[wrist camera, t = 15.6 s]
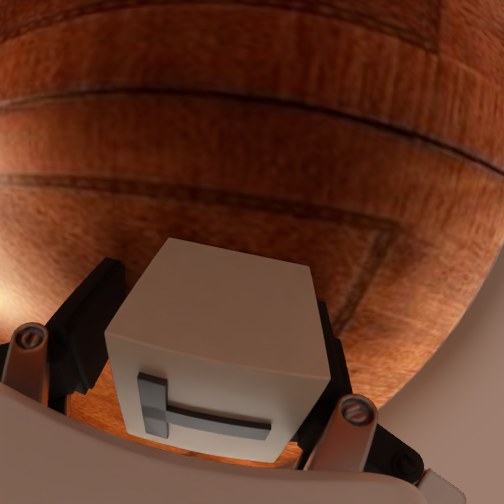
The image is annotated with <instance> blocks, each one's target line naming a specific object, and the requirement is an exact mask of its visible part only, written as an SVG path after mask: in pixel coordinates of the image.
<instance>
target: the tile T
mask: <svg viewBox="0 0 504 504" xmlns="http://www.w3.org/2000/svg"><path fill="white" fill-rule="evenodd" d="M105 340H106V346H107V351H108V356H109V361H110V366H111V371H112V375H113V380H114V384H115V388H116V393H117V397H118V401H119V404H120V408H121V412H122V415H123V419H124V422H125V426H126V429H127V432H128V433H129V434H132V435H135V436H138V437H141V438H145V439H148V440H151V441H155V442H159V443H162V444H166V445H170V446H174V447H178V448H182V449H187V450H191V451H196V452H201V453H206V454H211V455H217V456H223V457H229V458H236V459H243V460H251V461H260V462H271V463H273V462H274V461H275V460H276V459H277V457H278V456H279V455H280V453H281V452H282V451H283V449H284V448H285V447H286V445H287V444H288V443H289V441H290V440H291V439H292V437H293V436H294V434H295V433H296V432H297V430H298V429H299V427H300V426H301V424H302V423H303V421H304V420H305V419H306V417H307V416H308V414H309V413H310V411H311V410H312V408H313V407H314V405H315V404H316V402H317V400H318V399H319V397H320V396H321V394H322V393H323V391H324V389H325V388H326V386H327V385H328V383H329V381H330V379H331V376H330V370H329V364H328V359H327V353H326V347H325V342H324V336H323V331H322V326H321V320H320V315H319V310H318V305H317V300H316V295H315V291H314V286H313V281H312V276H311V272H310V267H309V266H305V265H300V264H295V263H291V262H286V261H281V260H276V259H271V258H266V257H261V256H257V255H252V254H247V253H242V252H237V251H232V250H228V249H223V248H218V247H213V246H208V245H203V244H199V243H194V242H189V241H184V240H179V239H175V238H168V239H167V241H166V242H165V243H164V245H163V246H162V248H161V249H160V250H159V252H158V253H157V254H156V256H155V257H154V259H153V260H152V261H151V263H150V264H149V266H148V267H147V269H146V270H145V271H144V273H143V274H142V276H141V277H140V279H139V280H138V282H137V283H136V284H135V286H134V287H133V289H132V290H131V292H130V293H129V295H128V296H127V298H126V299H125V301H124V302H123V304H122V305H121V307H120V308H119V310H118V311H117V313H116V315H115V316H114V318H113V319H112V321H111V322H110V324H109V325H108V327H107V329H106V330H105Z"/></svg>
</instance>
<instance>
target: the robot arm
mask: <svg viewBox="0 0 504 504" xmlns="http://www.w3.org/2000/svg"><path fill="white" fill-rule="evenodd" d="M125 299H126V287H125V267H124V265H121V262H120V260H117V259H112V258H108V257H106V258H104V259H103V260H102V261H101V262H100V264H99V265H98V266H97V267H96V268H95V269H94V270H93V271H92V272H91V273H90V274H89V275H88V276H87V278H86V279H85V280H84V281H83V282H82V283H81V284H80V285H79V286H78V287H77V288H76V289H75V290H74V292H73V293H72V294H71V295H70V296H69V297H68V298H67V300H66V301H65V302H64V303H63V304H62V305H61V307H60V308H59V309H58V310H57V311H56V313H55V314H54V315H53V316H52V317H51V319H50V320H49V321H48V322H47V323H46V325H45V326H43V325H42V324H40V323H35V322H30V323H25V324H23V325H21V326H19V327H18V328H17V329H16V330H15V331H14V333H13V335H12V337H11V341H10V343H6V344H2V345H0V504H466V497H465V495H464V493H462V491H460V490H459V489H458V488H456V487H455V486H454V485H452V484H451V483H449V482H448V481H447V480H445V479H444V478H442V477H441V476H440V475H438V474H436V473H435V472H434V471H433V470H431V469H430V468H429V469H428V470H425V469H424V463H423V460H422V458H421V456H420V455H419V454H418V453H417V452H416V451H415V450H413V449H412V448H411V447H409V446H408V445H406V444H405V443H403V442H402V441H401V440H400V439H398V438H397V437H395V436H394V435H393V434H391V433H390V432H388V431H387V430H386V429H384V428H383V427H382V426H380V425H379V424H378V423H377V421H378V411H377V408H376V406H375V405H374V403H373V402H372V401H371V400H370V399H369V398H367V397H365V396H363V395H360V394H353V392H352V387H351V383H350V378H349V374H348V369H347V365H346V360H345V356H344V352H343V348H342V344H341V341H340V339H339V338H334V337H333V332H332V328H331V324H330V319H329V315H328V311H327V307H326V303H325V302H324V301H319V300H317V305H318V310H319V315H320V320H321V326H322V331H323V336H324V342H325V347H326V353H327V359H328V364H329V370H330V376H331V379H330V381H329V383H328V385H327V386H326V388H325V389H324V391H323V393H322V394H321V396H320V397H319V399H318V400H317V402H316V404H315V405H314V407H313V408H312V410H311V411H310V413H309V414H308V416H307V417H306V419H305V420H304V421H303V423H302V424H301V426H300V427H299V429H298V430H297V432H296V433H295V434H294V436H293V437H292V439H291V440H290V441H291V442H297V444H298V446H299V447H300V448H301V449H302V451H301V452H300V454H299V456H298V458H297V460H296V462H295V464H294V466H293V467H292V469H291V470H286V469H272V468H261V467H251V466H243V465H236V464H229V463H222V462H216V461H211V460H205V459H200V458H195V457H191V456H186V455H181V454H177V453H173V452H169V451H165V450H161V449H157V448H154V447H150V446H147V445H143V444H140V443H137V442H134V441H130V440H127V439H124V438H121V437H118V436H116V435H113V434H110V433H107V432H104V431H102V430H99V429H96V428H94V427H91V426H89V425H86V424H84V423H82V422H79V421H77V420H74V419H72V418H71V394H73V393H74V391H77V392H79V393H82V394H84V395H85V394H86V393H87V391H88V389H89V388H90V389H92V388H93V387H94V385H95V383H96V381H97V379H98V377H99V375H100V374H101V372H102V370H103V368H104V366H105V364H106V362H107V360H108V359H109V356H108V351H107V346H106V340H105V330H106V329H107V327H108V325H109V324H110V322H111V321H112V319H113V318H114V316H115V315H116V313H117V311H118V310H119V308H120V307H121V305H122V304H123V302H124V301H125Z"/></svg>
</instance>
